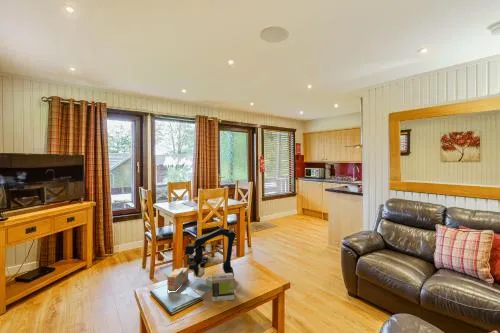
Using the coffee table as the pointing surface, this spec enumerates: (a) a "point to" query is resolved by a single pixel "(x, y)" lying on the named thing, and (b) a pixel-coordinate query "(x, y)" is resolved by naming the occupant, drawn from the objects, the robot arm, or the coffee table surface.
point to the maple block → (200, 272)
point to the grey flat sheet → (200, 287)
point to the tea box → (222, 287)
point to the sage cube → (209, 281)
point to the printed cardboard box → (177, 278)
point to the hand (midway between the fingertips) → (199, 273)
